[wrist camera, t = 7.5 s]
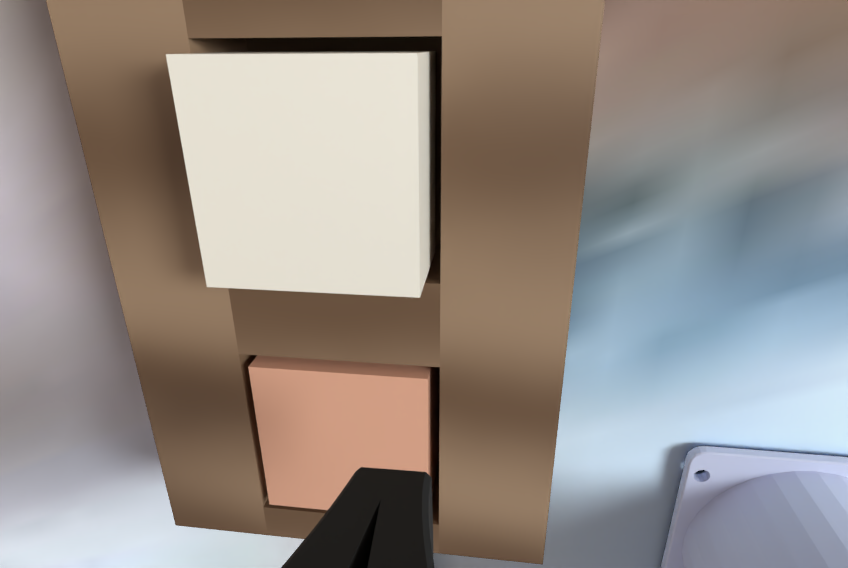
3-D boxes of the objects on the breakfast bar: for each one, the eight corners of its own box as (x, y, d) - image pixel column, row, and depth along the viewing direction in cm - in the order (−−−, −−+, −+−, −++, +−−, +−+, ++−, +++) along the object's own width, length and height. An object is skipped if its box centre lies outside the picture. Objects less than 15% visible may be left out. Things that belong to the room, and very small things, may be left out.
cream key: (435, 251, 15) (419, 297, 12) (258, 244, 16) (206, 287, 13) (435, 51, 13) (417, 52, 10) (233, 51, 14) (166, 54, 11)
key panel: (535, 472, 21) (542, 564, 17) (229, 445, 22) (175, 525, 18) (624, -467, 11) (683, -717, 7) (75, -404, 13) (-99, -586, 9)
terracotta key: (439, 453, 19) (428, 520, 17) (301, 441, 20) (269, 504, 17) (439, 326, 17) (427, 379, 15) (286, 318, 18) (248, 366, 15)
